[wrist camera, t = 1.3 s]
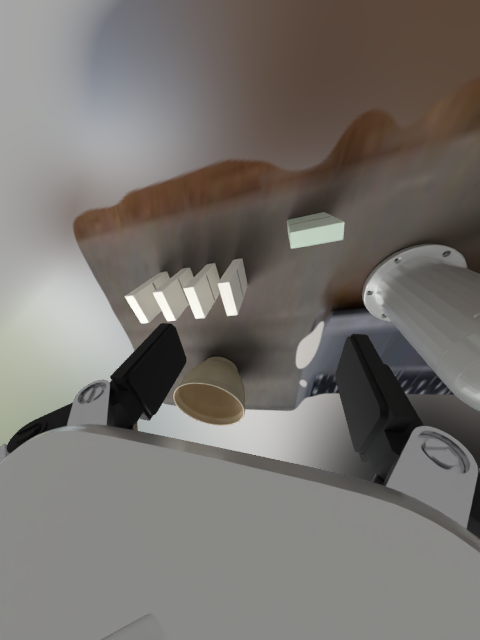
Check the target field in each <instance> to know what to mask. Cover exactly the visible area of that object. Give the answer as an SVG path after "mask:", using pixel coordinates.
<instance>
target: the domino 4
mask: <svg viewBox="0 0 480 640" xmlns="http://www.w3.org/2000/svg"><path fill="white" fill-rule="evenodd" d="M217 284H218V287H219V291H220V294H221V297H222V300H223V304H224V307H225V310H226V314H227V316H232V315H238V313H239V310H240V307H241V304H242V301H243V298H244V295H245V292H246V289H247V286H248V284H247V279H246V274H245V269H244V264H243V259H242V258H241V259H235V260H233V261H232V263H231V264H230V265H229V267H228V268H227V270H226V271H225V273H224V274H223V276H222V277H221V279H220V280H219V282H218V283H217Z"/></svg>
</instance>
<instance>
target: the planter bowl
mask: <svg viewBox="0 0 480 640" xmlns="http://www.w3.org/2000/svg"><path fill="white" fill-rule="evenodd" d="M173 397H174V401H175V403H176V405H177V406H178V408H180V410H181V411H183V412H184V413H185V414H187V415H188V416H190V417H192V418H193V419H196V420H198V421H200V422H203V423H207V424H212V425H219V426H220V425H221V426H225V425H232V424H235V423H237V422H239V421H240V420H242V418H243V417H244V414H245V390H244V385H243V382H242V379H241V377H240V375H239V374H238V369H237V367H236V366H235V364H234V363H233V362H231V361H230V360H228V359H226V358H222V357H211V358H208V359H207V360H205V362H203V363H201V364H199V365H197V366H196V367H194V368H193V369H192V370H191V371H190V372H188V373H187V375H186V376H185V377H184V378H183V380H182V381H181V383H180V385H179V386H178V387H177V388H176V390H175V392H174V395H173Z"/></svg>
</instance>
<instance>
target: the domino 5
mask: <svg viewBox="0 0 480 640" xmlns="http://www.w3.org/2000/svg"><path fill="white" fill-rule="evenodd" d="M344 223H345V222H344V221H342V220H340V219H337V218H335V217H333V216H331V215H329V214H327V213H325V212H322V213H317V214H312V215H308V216H303V217H299V218H294V219H289V220H287V228H288V236H289V241H290V246H291V249H293V248H299V247H304V246H310V245H316V244H321V243H327V242H333V241H339V240H343V235H344Z"/></svg>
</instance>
